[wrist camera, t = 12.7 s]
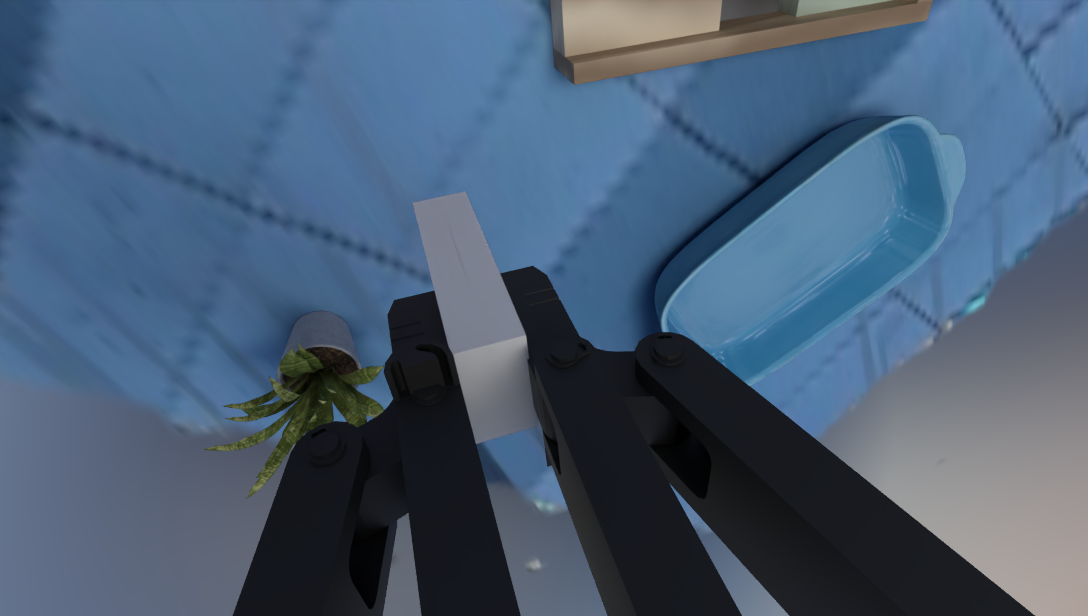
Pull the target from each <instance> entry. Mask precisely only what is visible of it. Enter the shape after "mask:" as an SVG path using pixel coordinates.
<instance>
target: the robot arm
mask: <svg viewBox="0 0 1088 616" xmlns="http://www.w3.org/2000/svg"><path fill="white" fill-rule="evenodd" d="M413 206H414V210H415V214H416V218H417V222H418V226H419V230H420V234H421V238H422V242H423V246H424V250H425V254H426V258H427V262H428V266H429V270H430V274H431V278H432V282H433V286H434V290H435V291H431V292H427V293H422V294H418V295H414V296H410V297H406V298H401V299H397V300H394V302H393V304H392V306H391V308H390V310H389V313H388V323H389V330H390V338H391V346H392V354H391V355H390V357H389V358H388V360H387V361H386V362H385V368H384V374H385V377H386V380H387V382H388V385H389V388H390V391H391V394H392V396H393V400H392V402H391V403H390V405H389V406H388V407H387V408H386V409H385V410H384V411H383V412H382V413H381V414H379V415H378V416H376V417H375V418H373V419H372V420H370V421H368V422H366V423H365V424H363V425H361V426H359V427H356V426H354V425H352V424H350V423H348V422H338V421H334V422H330V423H326V424H322V425H320V426H318V427H316V428H314V429H312V430H310V431H308V432H307V433H306V434H305V435H304V436H303V437H302V438H301V439H299V440H298V441H297V443H296V445H295V446H294V448H293V450H292V451H291V454H290V456H289V459H288V462H287V465H286V468H285V470H284V473H283V476H282V479H281V482H280V484H279V487H278V490H277V493H276V496H275V498H274V501H273V504H272V507H271V510H270V513H269V515H268V518H267V521H266V524H265V527H264V529H263V532H262V535H261V538H260V541H259V543H258V546H257V549H256V552H255V555H254V557H253V560H252V563H251V566H250V569H249V571H248V574H247V577H246V580H245V583H244V585H243V589H242V591H241V594H240V597H239V599H238V602H237V605H236V608H235V611H234V614H233V616H383V609H384V603H385V597H386V590H387V585H388V578H389V572H390V566H391V560H392V554H393V547H394V541H395V535H396V528H397V520H398V519H399V518H401V517H402V516H404V515H405V514H407V513H409V520H410V528H411V535H412V543H413V551H414V559H415V567H416V575H417V582H418V591H419V599H420V606H421V614H422V616H520V612H519V608H518V604H517V600H516V596H515V592H514V589H513V585H512V581H511V577H510V573H509V570H508V566H507V562H506V558H505V554H504V550H503V547H502V542H501V538H500V535H499V531H498V527H497V523H496V519H495V516H494V512H493V508H492V504H491V500H490V496H489V492H488V488H487V484H486V481H485V477H484V473H483V469H482V465H481V461H480V457H479V454H478V450H477V446H476V444H478V443H481V442H485V441H488V440H491V439H495V438H498V437H502V436H505V435H509V434H512V433H516V432H519V431H523V430H526V429H530V428H533V427H537V426H538V419H539V422H540V424H541V427H542V429H543V437H544V445H545V452H546V460H547V467H548V466H551V465H552V467H553V469H554V472H555V475H556V477H557V480H558V483H559V486H560V488H561V491H562V494H563V496H564V499H565V502H566V504H567V507H568V510H569V513H570V515H571V518H572V521H573V523H574V526H575V529H576V531H577V534H578V537H579V540H580V542H581V545H582V548H583V550H584V553H585V556H586V558H587V561H588V564H589V567H590V569H591V572H592V575H593V577H594V580H595V583H596V586H597V588H598V591H599V594H600V596H601V599H602V602H603V605H604V607H605V610H606V613H607V615H608V616H742V615H741V613H740V611H739V610H738V608H737V606H736V604H735V602H734V601H733V599H732V597H731V595H730V593H729V591H728V590H727V588H726V586H725V584H724V582H723V580H722V579H721V577H720V575H719V573H718V571H717V569H716V568H715V566H714V564H713V562H712V561H711V559H710V557H709V555H708V553H707V551H706V550H705V548H704V546H703V544H702V542H701V540H700V539H699V537H698V535H697V533H696V531H695V529H694V528H693V526H692V524H691V522H690V520H689V519H688V517H687V515H686V513H685V511H684V509H683V508H682V506H681V504H680V502H679V500H678V498H677V497H676V495H675V493H674V491H673V489H672V488H671V486H670V484H671V485H672V486H673V488H674V489H675V490H676V491H677V492H678V493H679V494H680V495H681V496H682V497H683V499H684V500H685V501H686V502H687V503H688V504H689V505H690V506H691V507H692V509H693V510H694V511H695V512H696V513H697V514H698V515H699V516H700V517H701V518H702V520H703V521H704V522H705V523H706V524H707V525H708V526H709V527H710V528H711V530H712V531H713V532H714V533H715V534H716V535H717V536H718V537H719V538H720V539H721V541H722V542H723V543H724V544H725V545H726V546H727V547H728V548H729V549H730V550H731V552H732V553H733V554H734V555H735V556H736V557H737V558H738V559H739V560H740V562H741V563H742V564H743V565H744V566H745V567H746V568H747V569H748V570H749V571H750V573H751V574H752V575H753V576H754V577H755V578H756V579H757V580H758V581H759V582H760V584H761V585H762V586H763V587H764V588H765V589H766V590H767V591H768V592H769V594H770V595H771V596H772V597H773V598H774V599H775V600H776V601H777V602H778V603H779V605H780V606H781V607H782V608H783V609H784V610H785V611H786V612H787V613H788V615H789V616H1035V615H1033V614H1032V613H1031V612H1030V611H1028V610H1027V609H1026V608H1025V607H1023V606H1022V605H1021V604H1020V603H1019V602H1017V601H1016V600H1015V599H1014V598H1012V597H1011V596H1010V595H1009V594H1007V593H1006V592H1005V591H1004V590H1002V589H1001V588H1000V587H999V586H997V585H996V584H995V583H994V582H992V581H991V580H990V579H988V578H987V577H986V576H985V575H984V574H982V573H981V572H980V571H979V570H978V569H976V568H975V567H974V566H973V565H971V564H970V563H969V562H968V561H966V560H965V559H964V558H962V557H961V556H960V555H959V554H957V553H956V552H955V551H954V550H953V549H951V548H950V547H949V546H948V545H946V544H945V543H944V542H942V541H941V540H940V539H939V538H938V537H936V536H935V535H934V534H933V533H931V532H930V531H929V530H928V529H926V528H925V527H924V526H922V525H921V524H920V523H919V522H918V521H917V520H915V519H914V518H913V517H912V516H910V515H909V514H908V513H907V512H905V511H904V510H903V509H902V508H900V507H899V506H898V505H897V504H895V503H894V502H893V501H892V500H890V499H889V498H888V497H887V496H886V495H884V494H883V493H881V491H879V490H878V489H877V488H876V487H874V486H873V485H871V483H869V482H868V481H867V480H866V479H864V478H863V477H862V476H861V475H859V474H858V473H857V472H856V471H854V470H853V469H852V468H851V467H849V466H848V465H847V464H846V463H844V462H843V461H842V460H841V459H839V458H838V457H837V456H836V455H834V454H833V453H832V452H831V451H830V450H828V449H827V448H826V447H825V446H823V445H822V444H821V443H820V442H818V441H817V440H816V439H815V438H813V437H812V436H811V435H810V434H808V433H807V432H806V431H805V430H803V429H802V428H801V427H800V426H798V425H797V424H796V423H795V422H794V421H792V420H791V419H790V418H789V417H787V416H786V415H785V414H784V413H782V412H781V411H780V410H779V409H777V408H776V407H775V406H774V405H772V404H771V403H770V402H769V401H767V400H766V399H765V398H764V397H762V396H761V395H760V394H759V393H757V392H756V391H755V390H754V389H752V388H751V387H750V386H749V385H748V384H746V383H745V382H744V381H743V380H741V379H740V378H739V377H738V376H736V375H735V374H734V373H733V372H731V371H730V370H729V369H728V368H726V367H725V366H724V365H723V364H721V363H720V362H719V361H718V360H716V359H715V358H714V357H713V356H711V355H710V354H709V353H708V352H706V351H705V350H704V349H703V348H702V347H700V346H699V345H698V344H697V343H695V342H694V341H693V340H691V339H689V338H687V337H686V336H684V335H681V334H677V333H673V332H658V333H654V334H651V335H648V336H646V337H645V338H643V339H642V340H641V341H639V343H638V345H637V347H636V349H635V351H626V352H613V351H604V350H600V349H596V348H594V346H593V345H592V344H591V343H590V342H589V341H588V340H586V339H583V338H581V337H580V336H579V334H578V333H577V331H576V329H575V327H574V325H573V323H572V321H571V320H570V318H569V316H568V314H567V312H566V310H565V308H564V306H563V305H562V303H561V301H560V300H559V297H558V295H557V293H556V292H555V290H554V289H553V286H552V284H551V282H550V280H549V278H548V277H547V275H546V274H544V273H543V272H541V271H540V270H538V269H537V268H535V267H534V266H530V267H526V268H522V269H518V270H513V271H509V272H505V273H501V274H500V272H499V270H498V268H497V265H496V263H495V261H494V258H493V256H492V253H491V251H490V249H489V246H488V244H487V242H486V239H485V237H484V234H483V232H482V230H481V227H480V225H479V223H478V220H477V218H476V216H475V213H474V211H473V208H472V206H471V204H470V201H469V199H468V197H467V194H466V192H461V193H456V194H451V195H447V196H442V197H437V198H432V199H428V200H423V201H418V202H413ZM537 416H538V419H537ZM669 483H670V484H669Z"/></svg>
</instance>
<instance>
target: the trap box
mask: <svg viewBox="0 0 1088 616" xmlns="http://www.w3.org/2000/svg"><path fill="white" fill-rule="evenodd" d="M932 2H933V0H550V5H551V20H552V34H553V49H554V64H555V68H556V69H557V70H558V71H560V72H561V73H562V74H563V75H564V76H565V77H566V78H568V79H569V80H570V81H571V82H572V83H573V84H574V85H576V84H581V83H587V82H592V81H598V80H603V79H608V78H614V77H619V76H625V75H630V74H636V73H641V72H647V71H652V70H658V69H663V68H669V67H674V66H679V65H685V64H690V63H696V62H701V61H707V60H712V59H718V58H723V57H729V56H734V55H739V54H745V53H750V52H756V51H761V50H767V49H772V48H778V47H783V46H789V45H794V44H800V43H805V42H810V41H816V40H821V39H827V38H832V37H838V36H843V35H849V34H854V33H860V32H865V31H870V30H876V29H881V28H887V27H892V26H898V25H903V24H909V23H914V22H920V21H925V20H927V18H928V15H929V11H930V8H931V5H932Z"/></svg>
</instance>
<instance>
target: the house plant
mask: <svg viewBox="0 0 1088 616" xmlns="http://www.w3.org/2000/svg"><path fill="white" fill-rule="evenodd" d="M383 367H384V365H383V366H382V367H374V366H371V367H366V368H363V369H362V366H361V363H360V360H359V357H358V354H357V351H356V348H355V345H354V342H353V339H352V336H351V333H350V330H349V327H348V325H347V323H346V322H345V321H344V320H343V319H342V318H340V317H339V316H337V315H335V314H333V313H331V312H326V311H316V312H311V313H308V314H306V315H304V316H302V317H300V318H299V319H298V320H297V321H296V323H295V324H294V326H293V329H292V331H291V334H290V337H289V339H288V342H287V345H286V347H285V350H284V353H283V355H282V358H281V361H280V364H279V366H278V370H277V381H278V382H277V381H275V380H274V379H272V378H270V376H269V379H270V382H271V384H272V386H273V388H274V390H273V391H271V392H269V393H268V394H266V395H263V396H261V397H259V398H256V399H253V400H250V401H248V402H245V403H242V404H230V405H226V406H224V407H230V408H235V409H242V410H243V411H244V412H245V413H247V414H248V416H245V417H232V418H226V419H229V420H234V421H253V420H257V419H260V418H263V417H267V416H270V415H273V414H276V413H278V412H280V411H282V410H284V409H286V408H287V407H289V406H290V405H291V404H293V403H294V402H296V401H297V402H296V403H295V404H294V405H293V406H292V407H291V408H290V409H289V410H288V411H287V412H286V413H285V414H284V415H283V416H282V417H281V418H280V419H278V420H277V421H276V422H274V423H273V424H272V425H270V426H269V427H267V428H266V429H264V430H262V431H261V432H258V433H256V434H254V435H251V436H249V437H247V438H245V439H243V440H240V441H238V442H236V443H232V444H228V445H221V446H214V447H211V448H208V449H205V450H216V451H230V450H240V449H243V448H247V447H251V446H253V445H256V444H258V443H261V442H262V441H264V440H266V439H268V438H269V437H271V436H272V435H274V434H275V433H276V432H277V431H278V430H279V429H280V428H281V427H282V426H283V425H284V424H285V423H286V422H287V421H288V420H289V419H290V418H291V417H292V418H291V419H290V421H289V423H288V424H287V426H286V427H285V429H284V431H283V435H282V438H281V440H280V442H279V443H278V445H277V446H276V448H275V449H274V451H273V453H272V454H271V456H270V457H269V459H268V460H267V462H266V464H265V466H264V468H263V470H262V471H261V472H260V473H259V474H258V476H257V478H258V477H259V479H258V481H257V482H256V484H255V485H254V486H253V487H252V489H251V491H250V493H249V496H248V497H250V496H252V495H253V494H254V493H255V492H256V491H258V490H259V489H260V488H261V487H262V486H263V485H264V484H265V483H266V482H267V481H268V480H269V479H270V478H271V477H272V475H273V474H274V472H275V471H276V470H277V468H278V467H279V466H280V464H281V463H282V461H283V460H284V458H285V457H286V455H287V454H288V452H289V451H290V449H291V448H292V446H293V445H294V444H295V443H297V441H298V440H299V439H301V438H302V437H303V435H304V433H305V434H306V433H307V432H308V431H310V430H312V429H314V428H316V427H318V426H320V425H322V424H326V423H330V422H333V420H334V417H333V408H332V403H334V405H335V406H336V407H337V409H338V410H339V411H340V413H341V414H342V415H343V416H344V418H345V420H346V421H347V422H348V423H350V424H352V425H354V426H356V427H359V426H361V425H363V424H365V423H366V422H367V417H366V415H368V416H371V417H376V416H378V415H379V414H381V413H382V412H383V411H384V410H383V407H382V406H381V405H380V404H379V403H378V402H376V401H375V400H373V399H371V398H369V397H367V396H365V395H363V394H362V393H360V392H358V391H357V390H356V388H357V387H358V385H359V384H366V383H369V382H371V381H372V380H374V379H375V377H376V376H377V375H378V374H379V372H380V371H381V369H382V368H383ZM277 395H278V396H279V397H280V398H281V400H279V401H278V402H275V403H272V404H268V405H262V406H258V405H261V404H264V403H266V402H268V401H270V400H271V399H273V398H274V397H275V396H277ZM305 429H306V430H305ZM248 497H247V498H248Z"/></svg>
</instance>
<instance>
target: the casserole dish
mask: <svg viewBox="0 0 1088 616" xmlns="http://www.w3.org/2000/svg"><path fill="white" fill-rule="evenodd" d="M965 175H966V163H965V156H964V152H963V147H962V144H961V142H960V140H959V138H958V137H956V136H955V135H952V134H939V133H938V131H937V130H936V128H935V127H934V125H933V124H932V123H931V122H930V121H929V120H928V119H926V118H924V117H921V116H916V115H907V116H878V117H869V118H863V119H859V120H856V121H853V122H850V123H848V124H845V125H843V126H841V127H839V128H837V129H835V130H833V131H832V132H830V133H828V134H827V135H825V136H824V137H822V138H821V139H820V140H818V141H817V142H815V143H814V144H812V145H811V146H810V147H808V148H807V149H806V150H804V151H803V152H802V153H800V154H799V155H798V156H797V157H795V158H794V159H793V160H791V161H790V162H789V163H788V164H786V165H785V166H784V167H783V168H781V169H780V170H779V171H778V172H776V173H775V174H774V175H773V176H771V177H770V178H769V179H768V180H766V181H765V182H764V183H763V184H761V185H760V186H759V187H758V188H756V189H755V190H754V191H753V192H751V193H750V194H749V195H748V196H746V197H745V198H744V199H743V200H741V201H740V202H739V203H737V204H736V205H735V206H734V207H732V208H731V209H730V210H729V211H727V212H726V213H725V214H724V215H722V216H721V217H720V218H719V219H717V220H716V221H715V222H714V223H713V224H711V225H710V226H709V227H708V228H707V229H705V230H704V231H703V232H702V233H701V234H699V235H698V236H697V237H696V238H695V239H694V240H692V241H691V242H690V243H689V244H688V245H687V246H685V247H684V248H683V249H682V250H681V251H680V252H679V253H678V254H677V255H676V256H675V257H674V258H673V259H672V260H671V262H670V263H669V264H668V265H667V266H666V268H665V269H664V271H663V272H662V274H661V275H660V277H659V279H658V282H657V285H656V289H655V307H656V312H657V315H658V319H659V322H660V327H661V331H662V332H673V333H677V334H681V335H684V336H686V337H687V338H689V339H691V340H693V341H694V342H695V343H697V344H698V345H699V346H700V347H702V348H703V349H704V350H705V351H706V352H708V353H709V354H710V355H711V356H713V357H714V358H715V359H716V360H718V361H719V362H720V363H721V364H723V365H724V366H725V367H726V368H728V369H729V370H730V371H731V372H733V373H734V374H735V375H736V376H738V377H739V378H740V379H741V380H743V381H744V382H745V383H746V384H748V385H749V386H750V385H752V384H754V383H756V382H758V381H760V380H762V379H763V378H765V377H767V376H768V375H770V374H771V373H773V372H774V371H776V370H777V369H779V368H780V367H782V366H783V365H785V364H786V363H788V362H789V361H790V360H792V359H793V358H795V357H796V356H798V355H799V354H800V353H802V352H803V351H805V350H806V349H807V348H809V347H810V346H812V345H813V344H814V343H816V342H817V341H819V340H820V339H822V338H823V337H824V336H826V335H827V334H829V333H830V332H831V331H833V330H834V329H836V328H837V327H838V326H840V325H841V324H843V323H844V322H845V321H847V320H848V319H850V318H851V317H853V316H854V315H855V314H857V313H858V312H860V311H861V310H862V309H864V308H865V307H867V306H868V305H870V304H871V303H872V302H874V301H875V300H877V299H878V298H879V297H881V296H882V295H884V294H885V293H886V292H888V291H889V290H890V289H892V288H893V287H894V286H896V285H897V284H898V283H900V282H901V281H902V280H904V279H905V278H906V277H908V276H909V275H910V274H911V273H913V272H914V271H915V270H916V269H917V268H919V267H920V266H921V265H922V264H923V263H924V262H925V261H926V260H927V259H928V258H929V257H930V256H931V255H932V254H933V253H934V252H935V251H936V250H937V248H938V247H939V246H940V244H941V243H942V242H943V240H944V238H945V237H946V235H947V233H948V231H949V228H950V226H951V222H952V216H953V209H954V204H955V201H956V199H957V197H958V195H959V192H960V190H961V188H962V185H963V183H964V179H965Z"/></svg>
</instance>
